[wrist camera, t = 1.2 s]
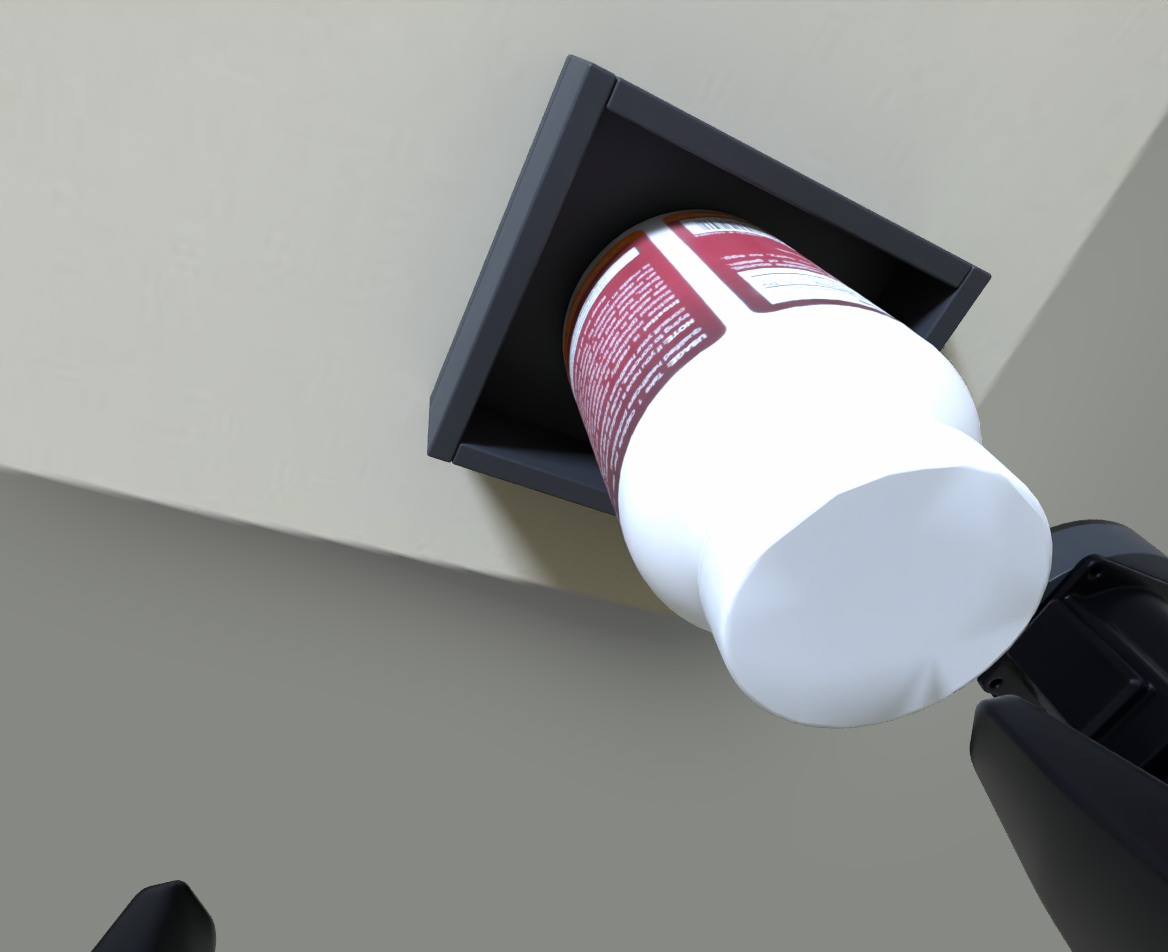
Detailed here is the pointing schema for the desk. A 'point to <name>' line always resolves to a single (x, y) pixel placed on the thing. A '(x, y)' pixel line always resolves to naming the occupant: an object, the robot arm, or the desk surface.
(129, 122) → the desk surface
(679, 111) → the tray
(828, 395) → the pill bottle
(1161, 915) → the robot arm
